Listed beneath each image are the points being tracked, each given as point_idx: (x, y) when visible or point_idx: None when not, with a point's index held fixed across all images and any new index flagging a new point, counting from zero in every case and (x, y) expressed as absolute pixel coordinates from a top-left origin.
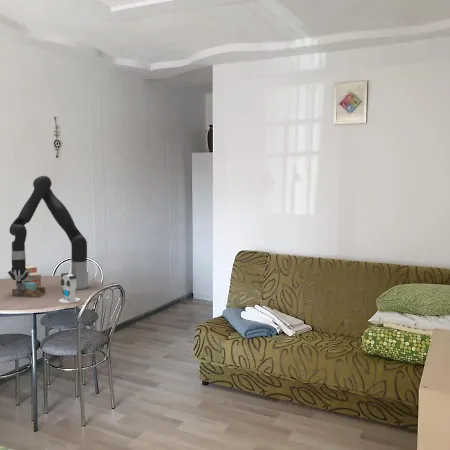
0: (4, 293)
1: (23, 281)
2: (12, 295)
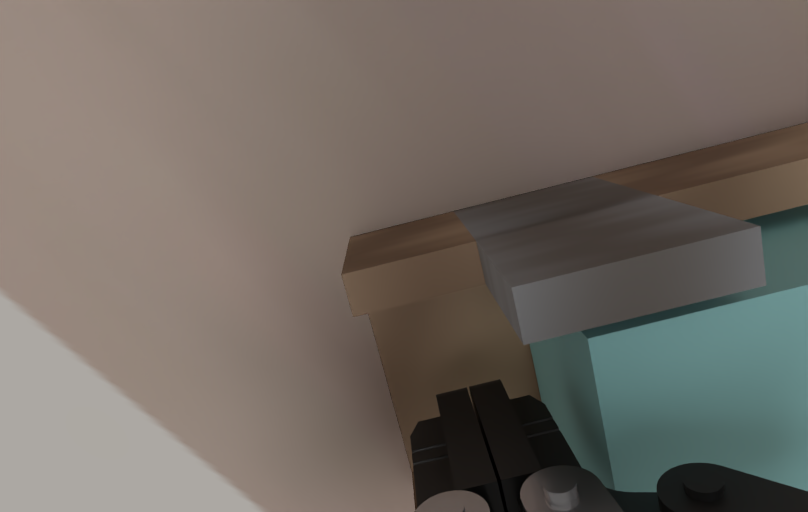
0: (127, 397)
1: (531, 337)
2: None
